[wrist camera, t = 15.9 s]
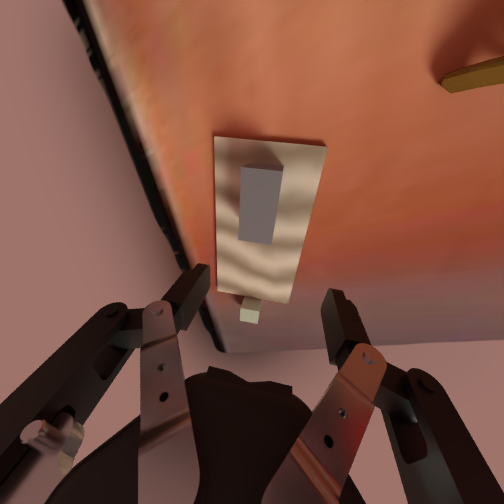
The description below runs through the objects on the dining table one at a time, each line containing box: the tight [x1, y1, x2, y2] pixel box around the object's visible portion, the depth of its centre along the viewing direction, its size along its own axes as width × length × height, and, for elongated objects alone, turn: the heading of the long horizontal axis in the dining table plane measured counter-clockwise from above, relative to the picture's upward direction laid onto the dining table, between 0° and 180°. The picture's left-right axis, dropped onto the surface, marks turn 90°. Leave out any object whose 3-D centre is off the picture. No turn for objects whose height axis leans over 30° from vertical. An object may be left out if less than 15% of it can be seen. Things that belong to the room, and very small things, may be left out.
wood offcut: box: [240, 296, 261, 324], centre depth 42 cm, size 4×4×4 cm
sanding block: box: [238, 163, 284, 245], centre depth 27 cm, size 10×5×6 cm, turn 176°
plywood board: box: [214, 136, 328, 304], centre depth 34 cm, size 30×16×1 cm, turn 176°
